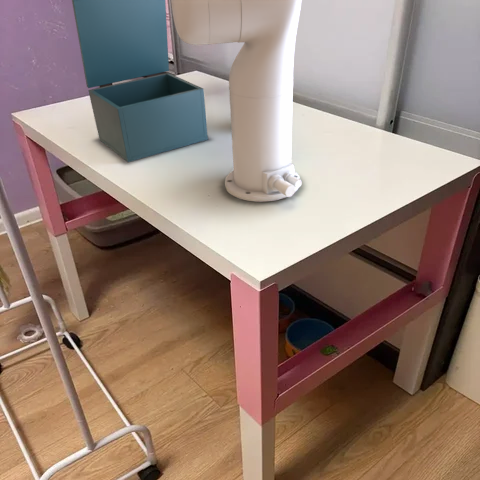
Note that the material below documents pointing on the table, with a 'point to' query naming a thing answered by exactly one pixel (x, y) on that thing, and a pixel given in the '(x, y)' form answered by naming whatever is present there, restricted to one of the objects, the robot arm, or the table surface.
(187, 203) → the table surface
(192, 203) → the table surface
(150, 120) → the chest
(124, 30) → the lid
